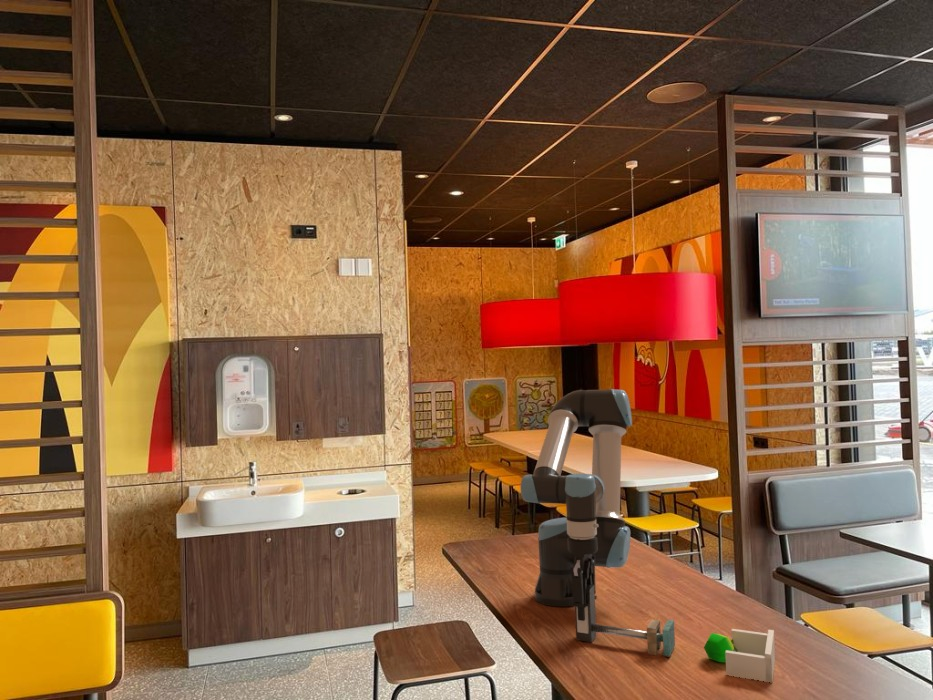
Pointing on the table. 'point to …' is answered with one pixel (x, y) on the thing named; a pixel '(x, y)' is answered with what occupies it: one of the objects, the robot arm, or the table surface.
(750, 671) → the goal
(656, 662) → the table surface
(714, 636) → the apple
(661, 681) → the table surface
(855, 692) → the table surface
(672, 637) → the piston
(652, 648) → the bearing block
